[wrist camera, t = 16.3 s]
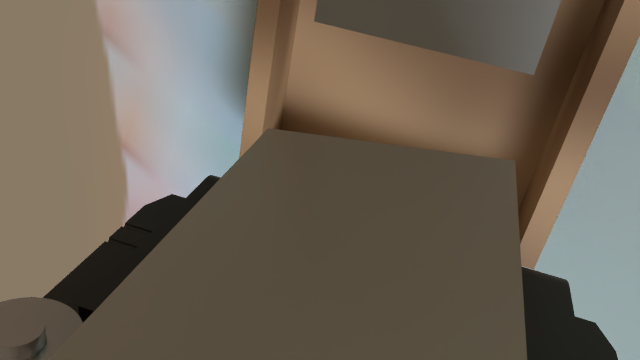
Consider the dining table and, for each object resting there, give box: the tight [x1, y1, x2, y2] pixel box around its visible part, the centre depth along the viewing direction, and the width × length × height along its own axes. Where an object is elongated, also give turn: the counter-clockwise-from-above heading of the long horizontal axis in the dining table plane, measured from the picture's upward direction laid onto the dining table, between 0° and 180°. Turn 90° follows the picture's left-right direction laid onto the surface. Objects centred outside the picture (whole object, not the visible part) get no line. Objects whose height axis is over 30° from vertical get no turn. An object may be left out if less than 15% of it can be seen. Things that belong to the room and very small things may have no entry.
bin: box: [239, 0, 640, 269], centre depth 15 cm, size 12×9×2 cm
